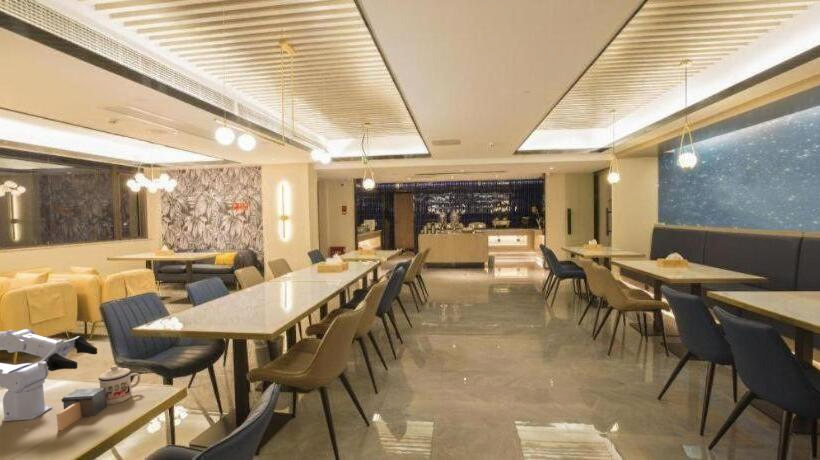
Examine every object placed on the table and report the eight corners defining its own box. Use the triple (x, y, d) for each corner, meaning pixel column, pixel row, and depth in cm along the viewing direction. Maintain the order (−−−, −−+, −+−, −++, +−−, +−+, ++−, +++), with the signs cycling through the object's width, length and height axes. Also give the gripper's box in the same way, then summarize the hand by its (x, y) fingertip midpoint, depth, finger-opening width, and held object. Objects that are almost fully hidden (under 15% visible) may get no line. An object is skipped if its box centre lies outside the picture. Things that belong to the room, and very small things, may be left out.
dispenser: (63, 418, 131) (61, 398, 131) (78, 408, 138) (76, 389, 138) (92, 417, 132) (91, 396, 131) (106, 407, 138) (105, 387, 138)
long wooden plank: (57, 430, 124) (56, 414, 124) (86, 411, 136) (85, 396, 136) (61, 430, 124) (60, 414, 124) (90, 410, 136) (88, 395, 136)
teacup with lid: (104, 408, 138) (101, 373, 137) (97, 400, 144) (94, 367, 143) (145, 394, 147) (143, 362, 146) (137, 388, 153) (135, 356, 152)
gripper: (23, 350, 126) (66, 362, 125) (65, 325, 139) (104, 335, 139) (24, 369, 128) (67, 380, 128) (66, 342, 142) (104, 352, 141)
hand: (86, 358), depth 133 cm, fingers open, 7 cm apart
